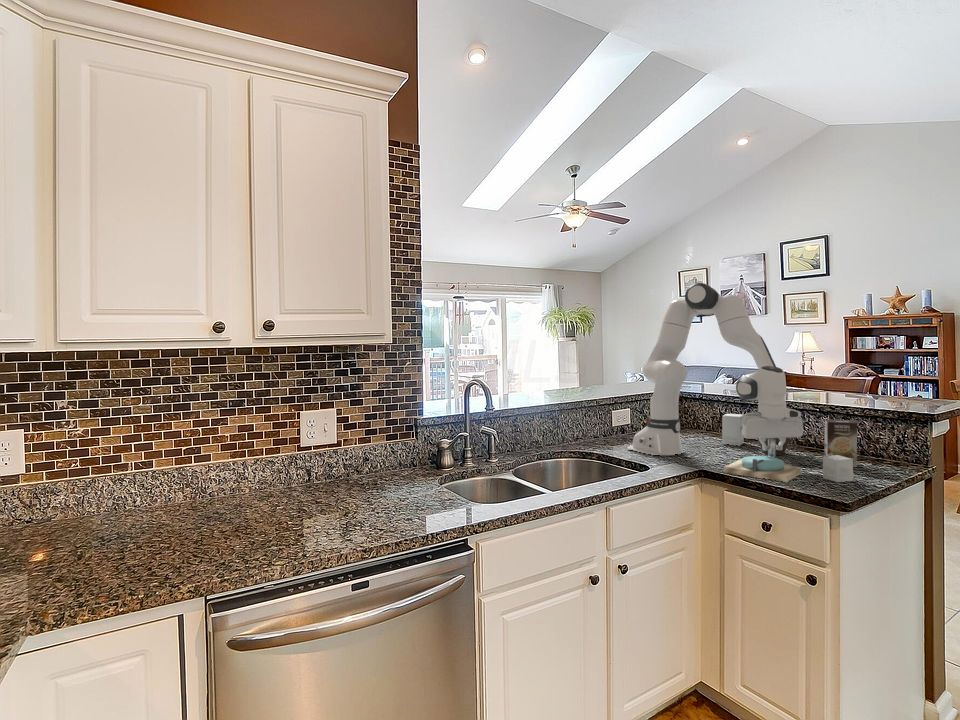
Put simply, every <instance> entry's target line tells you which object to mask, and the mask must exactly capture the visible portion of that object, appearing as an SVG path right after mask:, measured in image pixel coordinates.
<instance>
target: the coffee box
mask: <svg viewBox="0 0 960 720" xmlns="http://www.w3.org/2000/svg"><path fill="white" fill-rule="evenodd" d="M823 448H824V449H823V450H824V451H823V452H824V453H823V454H824V455H823V456H833V455H839V456H843V457H847V458H851V459H853V467H857V466H858V465H857V464H858V463H857V462H858V461H857V460H858V422H857V421H854V420H852V419H851V420H850V419H829V418H824V447H823Z"/></svg>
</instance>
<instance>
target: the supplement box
mask: <svg viewBox="0 0 960 720" xmlns="http://www.w3.org/2000/svg"><path fill="white" fill-rule="evenodd" d="M743 416H744V414H741V413H739V414H738V413H725V414H724V415H722V420H721V422H722V423H721V424H722V426H721V427H722V429H721V430H722V432H721V433H722V435H721V436H722V437H721V438H722V445H726V444H729V445H728V446H736V445H738V446H737V447H739V446H741V445H743V444H744V442H745V441H744V438H745V437H744V436H743V435H742V428H743Z"/></svg>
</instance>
